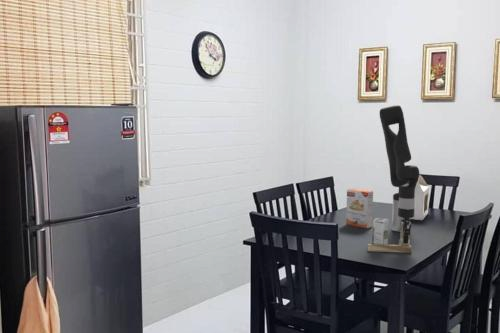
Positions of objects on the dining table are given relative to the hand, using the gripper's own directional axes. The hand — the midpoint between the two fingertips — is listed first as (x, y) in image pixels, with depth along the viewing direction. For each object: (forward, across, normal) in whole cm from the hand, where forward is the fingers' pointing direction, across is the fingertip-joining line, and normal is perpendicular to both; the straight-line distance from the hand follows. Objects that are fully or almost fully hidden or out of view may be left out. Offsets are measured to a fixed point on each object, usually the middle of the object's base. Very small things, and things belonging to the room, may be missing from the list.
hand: (405, 241), depth 243 cm
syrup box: (+3, +2, -12) cm, 13 cm away
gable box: (+3, -76, +19) cm, 79 cm away
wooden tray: (+3, 0, -8) cm, 9 cm away
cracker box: (+3, -44, -18) cm, 47 cm away
